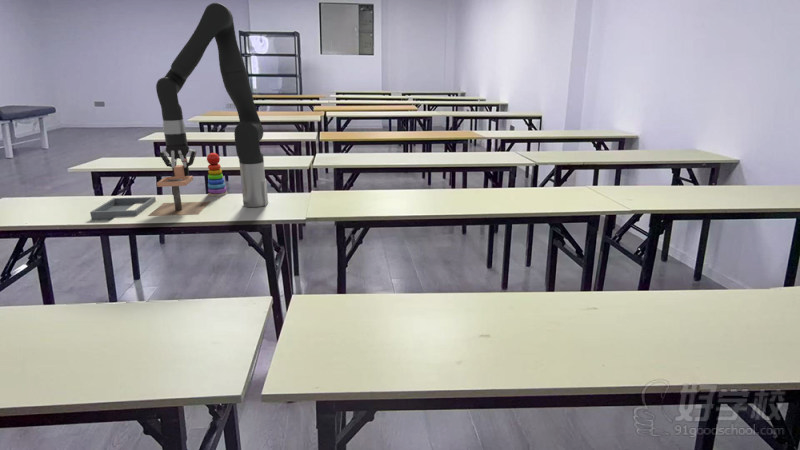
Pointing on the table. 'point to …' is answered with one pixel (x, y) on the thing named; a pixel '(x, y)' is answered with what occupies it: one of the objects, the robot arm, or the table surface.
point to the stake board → (185, 207)
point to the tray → (121, 208)
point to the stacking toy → (215, 176)
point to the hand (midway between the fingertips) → (181, 176)
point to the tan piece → (178, 175)
